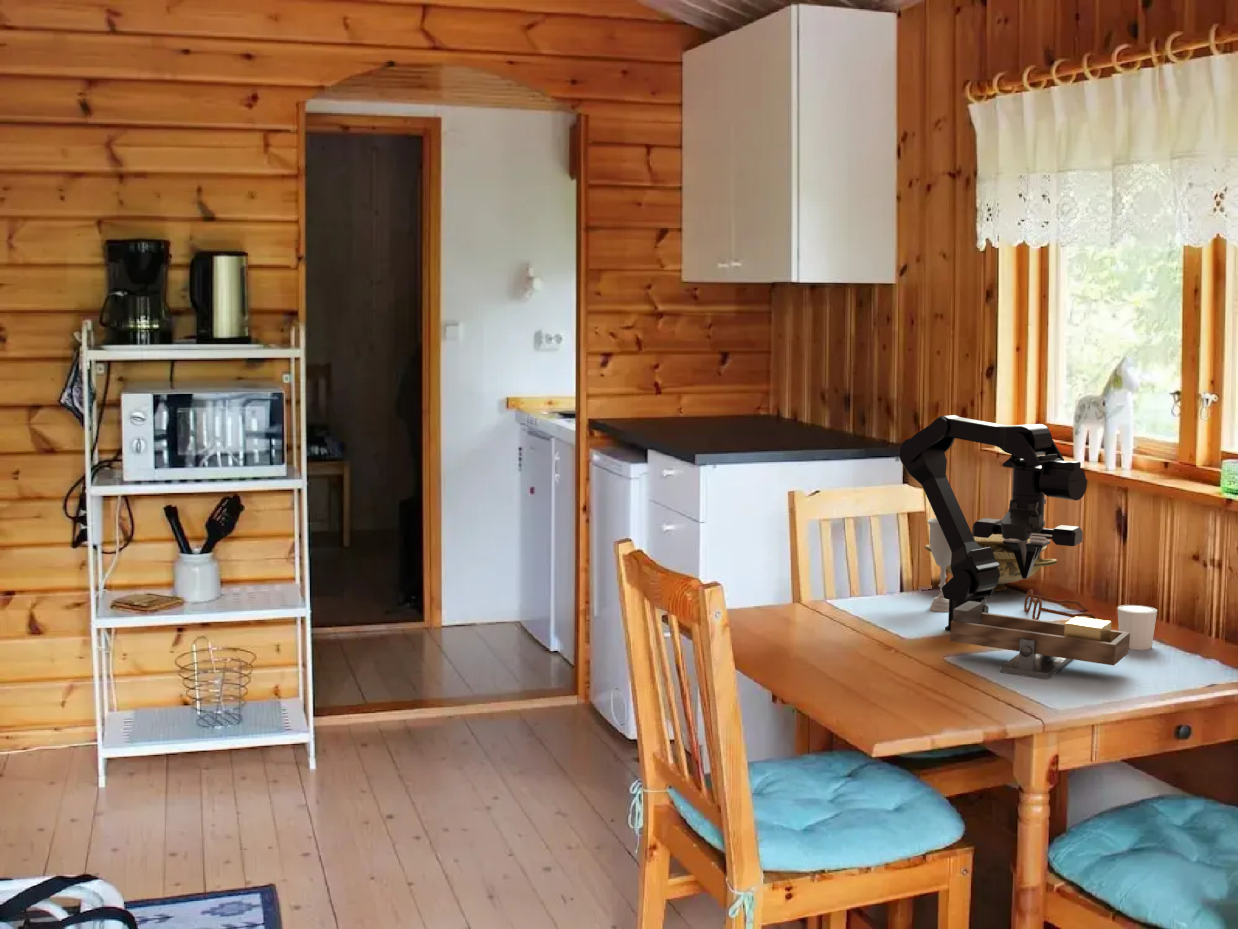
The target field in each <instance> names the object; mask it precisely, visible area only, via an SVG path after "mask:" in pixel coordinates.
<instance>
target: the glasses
mask: <svg viewBox="0 0 1238 929" xmlns="http://www.w3.org/2000/svg"><path fill="white" fill-rule="evenodd" d="M1029 599H1030V600H1029ZM1028 600H1029V604H1028ZM1042 601H1045V602H1050V603H1056V604H1076V605H1077V606H1078V607H1080V608H1081V609H1082V610H1083V611H1085V610H1089V608H1087V607H1086V606H1085V605H1083V604H1082V603H1081V602H1080V601H1078V600H1072V599H1055V598H1050V597H1046V596H1041V595H1037V594H1036V595H1035V594H1034V590H1033V589H1030V588H1029V589H1028V590H1027V592H1026V594H1025V599H1024V602H1023V604H1024V606H1023V610H1024V612H1025V613H1026V614H1027V613H1029V612H1030V611H1031V608H1032V605H1033V604H1034V606H1033V610H1032V617H1031V619H1035V620H1040V616H1041V612H1045V613H1050V614H1054V615H1059V616H1064V617H1068V618H1074V617H1076V616H1077V617H1084V618H1091V619H1098V618H1097V617H1096V615H1094V614H1093V613H1086V612H1084V613H1083V612H1081V613H1069V612H1064V611H1061V610H1060V611H1059V610H1054V609H1050V608H1045V607H1042V606H1043V602H1042ZM1027 606H1028V607H1027ZM1037 607H1038V611H1037ZM1036 611H1037V614H1036Z"/></svg>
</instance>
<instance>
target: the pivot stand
mask: <svg viewBox="0 0 1238 929" xmlns="http://www.w3.org/2000/svg"><path fill="white" fill-rule="evenodd" d="M1072 660H1073V659H1066V658H1060V657H1053V656H1046V655H1040V654H1036V640H1033V639H1026V638H1022V639H1020V648H1019V651H1018V654H1016V655H1015V656H1013V657H1012V658H1010V659H1009V660H1007V661H1006V662H1004V663H1003V664H1002V665H1000V668H999V670H1000V673H1003V674H1008V675H1009V674H1010V675H1016V676H1018V675H1019V676H1022V675H1024V677H1029V678H1031V677H1032V678H1038V679H1043V680H1049V679H1050V678H1051V677H1052V676H1053V675H1055V674H1056V673H1057V672H1058V671H1060V670H1061V669H1062V668H1064V667H1065V666H1066V665H1067V664H1069V663H1070V662H1072Z"/></svg>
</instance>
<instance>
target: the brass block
mask: <svg viewBox="0 0 1238 929" xmlns="http://www.w3.org/2000/svg"><path fill="white" fill-rule="evenodd" d="M1064 624H1065V629H1064V636H1066V637H1073V638H1080V639H1087V640H1095V641H1102V642H1109V643H1110V636H1111V630H1112V621H1111V620H1104V619H1098V618H1097V619H1092V618H1091V617H1085V616H1080V617H1077V616H1076V617H1071V618H1070V619H1069V620H1068V621H1066V622H1065V623H1064Z"/></svg>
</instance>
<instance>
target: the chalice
mask: <svg viewBox="0 0 1238 929" xmlns="http://www.w3.org/2000/svg"><path fill="white" fill-rule="evenodd" d="M927 523H928V525H929V539H928V540H929V541H928V542H929V543H928V545H930V548H931V552H930V553H931V554H932V557H933V560H934V561H935V564H936V565H937V566H938V567H940V574H939V578H940V582H939V584H938V587H939V590H940V592H939V594H938V595H937V596H935V597H934V598H933V599H932V602H931V603H930V604H931V605H930V606H929V610H931V611H934V612H940V613H949V599H945V598H944V596H943V592H942V587H943V586H944V585H945V584H946V583H947V582H946V579H947V578H948V576H947V572H946V571H945V570H946V567H947V566H950V565H951V555H952V553H951V550H950V548H949V545H948V543H947V541H946V539H945V536H944V534H943V532H942V530H941V527H940V525H939V523H938V521H937V518H936V517H934V518H929V519H927Z"/></svg>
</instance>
